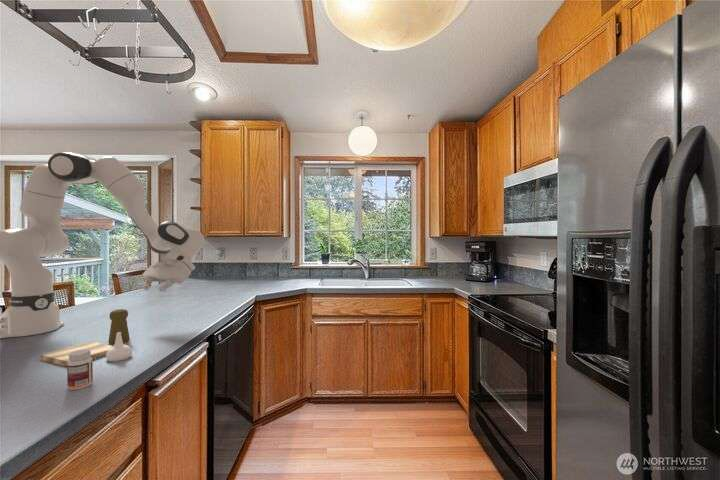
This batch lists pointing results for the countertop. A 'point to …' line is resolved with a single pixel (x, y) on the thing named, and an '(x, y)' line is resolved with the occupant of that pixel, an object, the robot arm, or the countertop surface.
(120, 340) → the garlic bulb
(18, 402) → the countertop surface
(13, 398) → the countertop surface
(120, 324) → the cork
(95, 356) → the birch board
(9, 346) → the countertop surface
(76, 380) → the pill bottle
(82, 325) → the countertop surface
